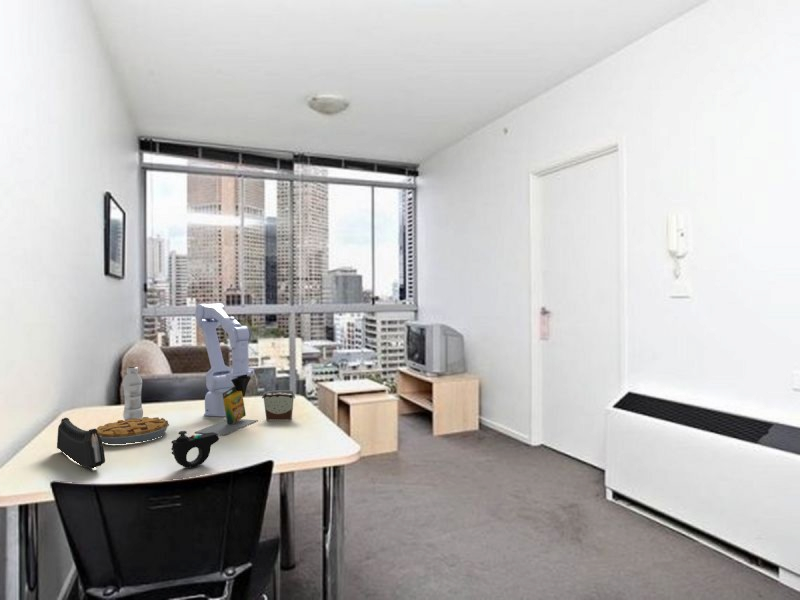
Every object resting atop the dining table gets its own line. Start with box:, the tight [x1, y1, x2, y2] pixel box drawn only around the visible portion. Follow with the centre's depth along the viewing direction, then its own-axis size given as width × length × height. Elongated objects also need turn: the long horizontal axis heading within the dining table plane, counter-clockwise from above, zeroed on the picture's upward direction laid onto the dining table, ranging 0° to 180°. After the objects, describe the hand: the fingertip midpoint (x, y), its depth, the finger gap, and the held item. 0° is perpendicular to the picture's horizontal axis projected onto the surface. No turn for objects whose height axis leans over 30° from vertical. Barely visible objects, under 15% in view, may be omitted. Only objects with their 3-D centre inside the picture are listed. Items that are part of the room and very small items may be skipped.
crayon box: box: [223, 386, 247, 424], centre depth 180 cm, size 7×3×12 cm, turn 160°
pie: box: [96, 416, 170, 444], centre depth 165 cm, size 22×22×5 cm
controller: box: [170, 430, 220, 469], centre depth 136 cm, size 4×12×10 cm, turn 136°
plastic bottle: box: [122, 366, 144, 421], centre depth 186 cm, size 6×7×20 cm
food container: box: [261, 389, 296, 421], centre depth 187 cm, size 12×6×10 cm, turn 84°
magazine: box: [56, 417, 106, 469], centre depth 142 cm, size 17×3×30 cm
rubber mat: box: [194, 418, 259, 436], centre depth 176 cm, size 12×19×1 cm, turn 162°
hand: (241, 396), depth 184 cm, fingers closed
